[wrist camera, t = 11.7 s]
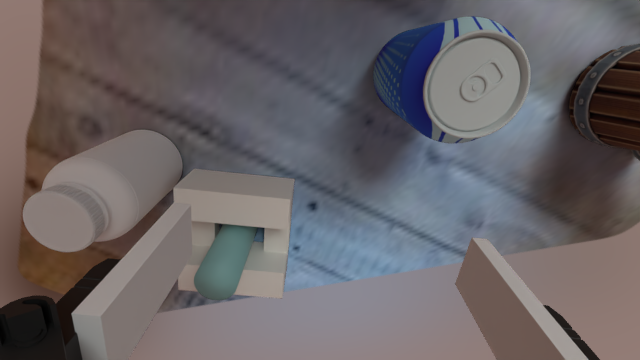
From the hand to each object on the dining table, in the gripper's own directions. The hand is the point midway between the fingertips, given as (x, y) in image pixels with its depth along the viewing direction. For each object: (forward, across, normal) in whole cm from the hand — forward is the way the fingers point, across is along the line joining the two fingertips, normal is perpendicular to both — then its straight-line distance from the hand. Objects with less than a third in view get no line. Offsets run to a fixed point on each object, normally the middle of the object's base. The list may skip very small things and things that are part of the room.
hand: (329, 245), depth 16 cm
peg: (+23, -9, -13) cm, 28 cm away
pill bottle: (+24, -20, -7) cm, 32 cm away
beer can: (+24, +8, +7) cm, 27 cm away
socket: (+23, -9, -13) cm, 28 cm away
